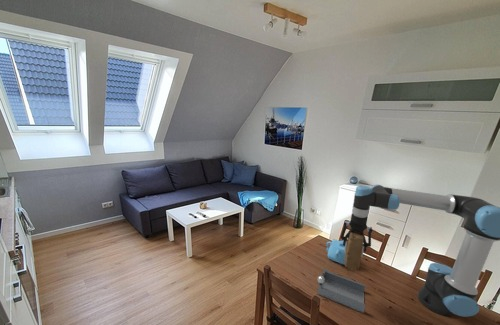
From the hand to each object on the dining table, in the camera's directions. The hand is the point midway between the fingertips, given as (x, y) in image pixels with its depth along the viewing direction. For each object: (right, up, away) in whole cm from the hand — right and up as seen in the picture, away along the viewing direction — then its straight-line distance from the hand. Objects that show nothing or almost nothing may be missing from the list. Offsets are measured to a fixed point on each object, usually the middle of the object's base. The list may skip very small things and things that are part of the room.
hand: (353, 253), depth 115 cm
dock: (-4, -26, +7) cm, 27 cm away
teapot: (+9, -21, +36) cm, 42 cm away
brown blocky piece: (0, -7, +1) cm, 7 cm away
